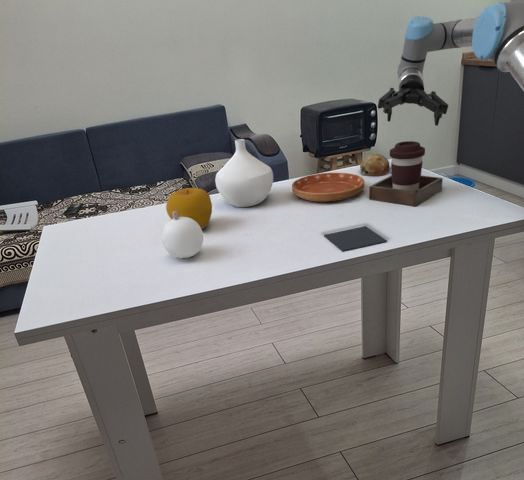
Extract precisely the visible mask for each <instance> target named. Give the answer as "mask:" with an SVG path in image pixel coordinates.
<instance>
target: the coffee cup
mask: <svg viewBox="0 0 524 480" xmlns="http://www.w3.org/2000/svg"><path fill="white" fill-rule="evenodd" d="M425 155H426V148H425V147H423V146H421V143H420V142H418V141H414V140H409V141H408V140H407V141H399V142H397V143H396V144H394V147H392V148H390V149H389V157H390V158H391V162H390V163H391V164H390V169H391V175H392V183H393V188H392V189H399V190H406V191H413V192H416V191H418V190H419V189H418V188H419V182H420V178H421V176H422V170H423V157H424V156H425Z"/></svg>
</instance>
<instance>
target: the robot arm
mask: <svg viewBox="0 0 524 480" xmlns="http://www.w3.org/2000/svg"><path fill="white" fill-rule="evenodd" d="M406 26H407V27H406V30H405V34H404V42H403V49H402V54H401V57H400V62H399V64H398V67H397V79H398V90H395V88H394V87H390V88H389V90H388V91H387V92H386V93H385V94H384V95H382V96H381V97H380V98H378V103H377V109H379V110H380V109H383V110H382V111H383V112H382V113H384V114H386V115H387V122H390V123H391V118H392V115H393V108H394V107H397V106H399V105H400V106H402V105H404V104H414V105H417V106H419V107H424V108H425V109H427V110H429V111H431V112H432V113H433V120H434V126H435V127H437V126H438V127H439V123H440V119H442V118H443V115H447V111H448V109H449V104H448V103H447V102H445V100H443V99H442V98H441V97H440V96H439V95H437V92H436V91H435V90H432V91H431V92H430V93H427V92H426V91H425V84H424V76H423V73H424V67H425V62H426V58H427V56H428V53H429V52H437V51H443V50H451V49H460V48H472V51H473V54H474V56H475V57H476V58H477V59H478V60H481V61H488V60H491V61H492V63H493V64H494V65H495V66H496V68H497V69H498V70H499V71H500V72H501V73H510V75H511V76H512V77H513V79H514V81H516V83H517V84H518V86H519V87H520V88H521V90H522V91H523V92H524V0H515V1H508V2H507V1H506V2H497V3H495V4H491V5H488V6H487V7H485V8H484V9H483V10H482V11H481V12H480V13H479V15H478V16H476V17H469V18H463V19H457V20H450V21H443V22H437V23H434V20H433V19H432V18H431V17H428V16H419V15H418V16H413V17H411V18H410V19H409V21H408V23H407V25H406Z"/></svg>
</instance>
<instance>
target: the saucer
mask: <svg viewBox="0 0 524 480" xmlns="http://www.w3.org/2000/svg"><path fill="white" fill-rule="evenodd" d="M365 183H366V181H365V179H364V177H362V176H360V175H358V174H354V173H348V172H323V173H315V174H310V175H306V176H303V177H300V178H297V179H296V180H294V181H293V182H292V184H291V192H292V193H293V194H294V195H295V196H297V197H299V198H301V199H302V200H304V201H305V200H306V201H309V202H316V203H317V202H320V203H323V202H324V203H325V202H326V203H327V202H337V201H343V200H346V199H349V198H352V197H354V196H356V195H357V194H359V193H360V192H362V191H363V190H364V188H365Z"/></svg>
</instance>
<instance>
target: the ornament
mask: <svg viewBox="0 0 524 480" xmlns="http://www.w3.org/2000/svg"><path fill="white" fill-rule="evenodd" d="M161 242H162V245H163V248H164V249H165V250H166V252H167V253H168V254H170V256H172V257H175V258H177V259H188V258H191V257H194V256H195V255H196V254H198V253H199V251H200V250H202V247H203V243H204V233H203V230H202V229H201V228H200V226H199V225H198V223H197V222H196V221H194V220H193V219H191V218H188V217H178V214H177V211H173V219H170V220H168V221H167V222H166V223H165V224H164V226H163V228H162V231H161Z"/></svg>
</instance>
